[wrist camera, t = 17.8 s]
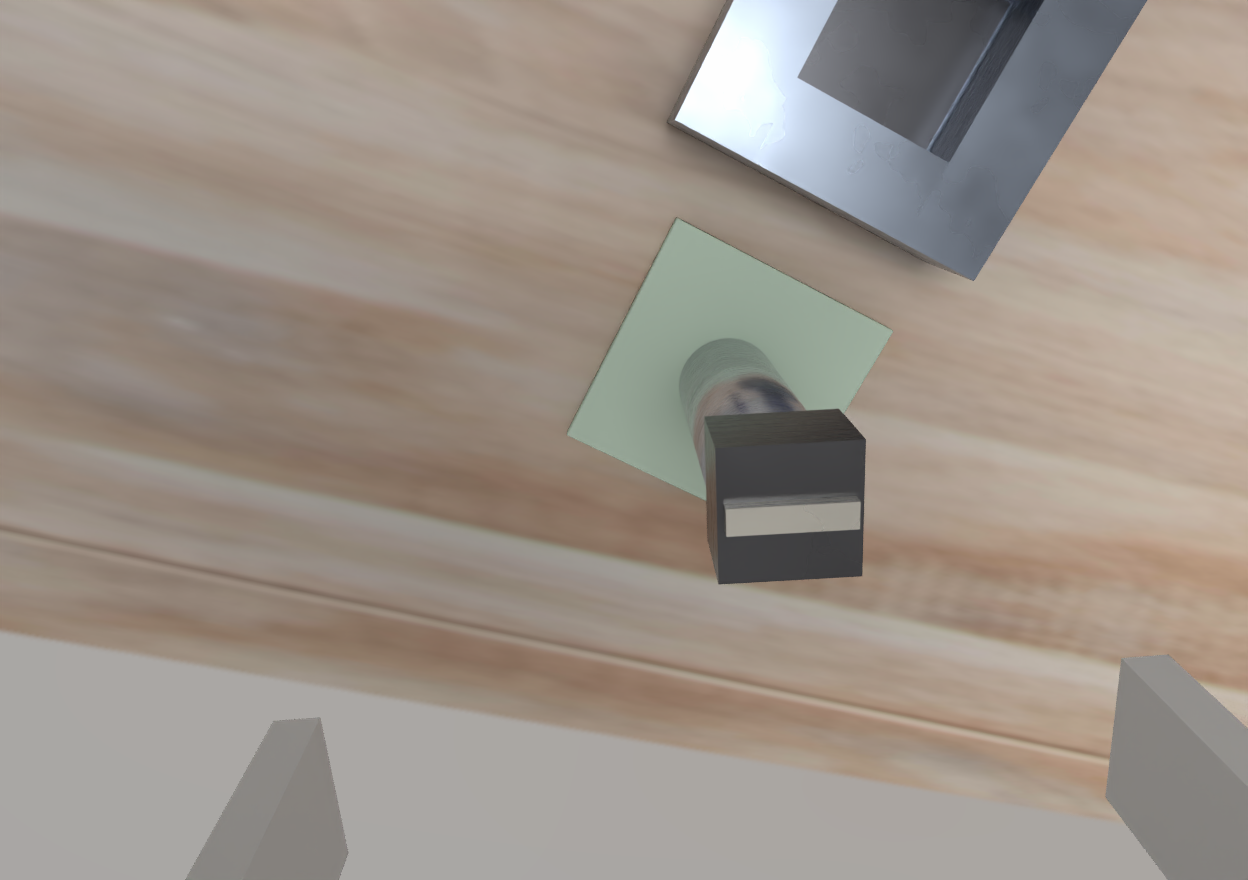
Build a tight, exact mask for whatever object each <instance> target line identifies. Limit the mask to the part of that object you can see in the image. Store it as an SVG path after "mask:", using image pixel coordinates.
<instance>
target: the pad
mask: <svg viewBox="0 0 1248 880" xmlns="http://www.w3.org/2000/svg"><path fill="white" fill-rule="evenodd" d="M892 333H893V331H892V330H891V329H890V328H888V327H886V326H884V325H882V324H880V323H878V322H876V321H874V320H872V319H871V318H869V317H867V316H865V315H863V314H861V313H859V312H857V311H855V310H853V309H851V308H849V307H848V306H846V305H844V304H842V303H840V302H838V301H836V300H834V299H832V298H830V297H828V296H826V295H825V294H823V293H821V292H819V291H817V290H815V289H813V288H811V287H809V286H807V285H805V284H803V283H802V282H800V281H798V280H796V279H794V278H792V277H790V276H788V275H786V274H784V273H782V272H780V271H779V270H777V269H775V268H773V267H771V266H769V265H767V264H765V263H763V262H761V261H759V260H757V259H756V258H754V257H752V256H750V255H748V254H746V253H744V252H742V251H740V250H738V249H736V248H735V247H733V246H731V245H729V244H727V243H725V242H723V241H721V240H719V239H717V238H715V237H713V236H712V235H710V234H708V233H706V232H704V231H702V230H700V229H698V228H696V227H694V226H692V225H690V224H689V223H687V222H685V221H683V220H681V219H679V218H677V217H676V219H675V221H674V223H673V225H672V227H671V228H670V230H669V232H668V234H667V236H666V238H665V240H664V242H663V244H662V246H661V248H660V250H659V252H658V254H657V256H656V258H655V260H654V262H653V264H652V266H651V268H650V270H649V272H648V274H647V276H646V278H645V280H644V282H643V283H642V285H641V287H640V289H639V291H638V293H637V295H636V297H635V299H634V301H633V303H632V305H631V307H630V309H629V311H628V313H627V315H626V317H625V319H624V321H623V323H622V325H621V327H620V329H619V331H618V333H617V335H616V337H615V338H614V340H613V342H612V344H611V346H610V348H609V350H608V352H607V354H606V356H605V358H604V360H603V362H602V364H601V366H600V368H599V370H598V372H597V374H596V376H595V378H594V380H593V382H592V384H591V386H590V388H589V390H588V392H587V393H586V395H585V397H584V399H583V401H582V403H581V405H580V407H579V409H578V411H577V413H576V415H575V417H574V419H573V421H572V423H571V425H570V427H569V429H568V431H567V435H568V436H570V437H572V438H574V439H576V440H578V441H580V442H582V443H585V444H587V445H589V446H591V447H593V448H595V449H597V450H599V451H601V452H604V453H606V454H608V455H610V456H612V457H614V458H616V459H618V460H620V461H623V462H625V463H627V464H629V465H631V466H633V467H635V468H637V469H640V470H642V471H644V472H646V473H648V474H650V475H652V476H654V477H656V478H659V479H661V480H663V481H665V482H667V483H669V484H671V485H673V486H675V487H678V488H680V489H682V490H684V491H686V492H688V493H690V494H692V495H695V496H697V497H699V498H701V499H703V500H705V501H706V485H705V482H704V478H703V475H702V471H701V468H700V464H699V461H698V457H697V454H696V450H695V447H694V443H693V440H692V436H691V433H690V429H689V426H688V422H687V419H686V415H685V412H684V408H683V405H682V401H681V397H680V391H679V381H680V375H681V372H682V369H683V367H684V365H685V363H686V362H687V360H688V358H689V357H690V356H691V355H692V354H693V353H694V352H695V351H696V350H697V349H698V348H700V347H701V346H703V345H705V344H706V343H708V342H711V341H713V340H717V339H723V338H735V339H741V340H744V341H747V342H749V343H751V344H753V345H755V346H756V347H758V348H759V349H760V350H761V351H762V352H763V353H764V354H765V355H766V357H767V358H768V359H769V361H770V362H771V363H772V365H773V366H774V367H775V369H776V370H777V371H778V373H779V374H780V375H781V377H782V378H783V379H784V381H785V382H786V383H787V385H788V386H789V387H790V389H791V390H792V391H793V393H794V394H795V395H796V397H797V398H798V400H799V401H800V402H801V404H802V405H803V406H804V408H805V409H806V410H824V409H840V411H841V412H842V413H843V414H844V412H845V411H846V409H847V407H848V406H849V404H850V402H851V401H852V399H853V397H854V396H855V394H856V392H857V391H858V389H859V387H860V386H861V384H862V382H863V381H864V379H865V377H866V376H867V374H868V372H869V371H870V369H871V368H872V366H873V364H874V363H875V361H876V359H877V358H878V356H879V354H880V353H881V351H882V349H883V348H884V346H885V344H886V343H887V341H888V339H889V338H890V336H891V334H892Z"/></svg>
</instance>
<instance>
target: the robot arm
mask: <svg viewBox="0 0 1248 880" xmlns="http://www.w3.org/2000/svg"><path fill="white" fill-rule="evenodd" d="M1106 798H1107V800H1108V801H1109V802H1110V804H1111V805H1112V806H1113V808H1114V809H1115V810H1116V812H1117V813H1118V814H1119V816H1120V817H1121V818H1122V820H1123V821H1124V822H1125V824H1126V825H1127V826H1128V828H1129V829H1130V830H1131V831H1132V833H1133V834H1134V835H1135V837H1136V838H1137V839H1138V841H1139V842H1140V844H1141V845H1142V846H1143V848H1144V849H1145V850H1146V852H1147V853H1148V854H1149V856H1151V858H1152V859H1153V861H1154V862H1155V863H1156V865H1157V866H1158V867H1159V869H1160V870H1161V871H1162V873H1163V874H1164V875H1165V877H1166V878H1167V879H1168V880H1248V728H1247V727H1246V726H1244V725H1243V724H1242V723H1241V722H1240V721H1239V720H1238V719H1237V718H1236V717H1235V716H1234V715H1233V714H1232V713H1230V712H1229V711H1228V710H1227V709H1226V708H1225V707H1224V706H1223V705H1222V704H1221V703H1220V702H1219V701H1218V700H1217V699H1215V698H1214V697H1213V696H1212V695H1211V694H1210V693H1209V692H1208V691H1207V690H1206V689H1205V688H1204V687H1203V686H1201V685H1200V684H1199V683H1198V682H1197V681H1196V680H1195V679H1194V678H1193V677H1192V676H1191V675H1190V674H1189V673H1187V672H1186V671H1185V670H1184V669H1183V668H1182V667H1181V666H1180V665H1179V664H1178V663H1177V662H1176V661H1175V660H1174V659H1172V658H1171V657H1170V656H1169V655H1157V656H1144V657H1130V658H1121V667H1120V675H1119V684H1118V693H1117V701H1116V710H1115V719H1114V727H1113V736H1112V745H1111V753H1110V762H1109V771H1108V779H1107V788H1106ZM347 855H348V849H347V844H346V840H345V835H344V830H343V825H342V820H341V815H340V811H339V806H338V801H337V796H336V791H335V786H334V782H333V777H332V772H331V767H330V762H329V757H328V753H327V748H326V743H325V738H324V733H323V729H322V724H321V719H320V718H308V719H294V720H282V721H273V723H272V725H271V727H270V728H269V730H268V732H267V734H266V736H265V738H264V739H263V741H262V743H261V745H260V747H259V748H258V750H257V752H256V754H255V755H254V757H253V759H252V761H251V763H250V764H249V766H248V768H247V770H246V772H245V773H244V775H243V777H242V779H241V781H240V782H239V784H238V786H237V788H236V790H235V791H234V793H233V795H232V797H231V799H230V801H229V802H228V804H227V806H226V808H225V810H224V811H223V813H222V815H221V817H220V818H219V820H218V822H217V824H216V826H215V827H214V829H213V831H212V833H211V835H210V837H209V838H208V840H207V842H206V844H205V846H204V847H203V849H202V851H201V853H200V854H199V856H198V858H197V860H196V862H195V863H194V865H193V867H192V869H191V871H190V872H189V874H188V876H187V878H186V880H339V878H340V875H341V872H342V869H343V867H344V864H345V861H346V858H347Z"/></svg>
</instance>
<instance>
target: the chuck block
mask: <svg viewBox="0 0 1248 880" xmlns="http://www.w3.org/2000/svg"><path fill="white" fill-rule="evenodd" d="M1146 1H1147V0H727V1H726V3H725V5H724V7H723V9H722V11H721V13H720V15H719V17H718V19H717V21H716V23H715V25H714V27H713V29H712V31H711V33H710V35H709V37H708V39H707V41H706V43H705V45H704V47H703V49H702V52H701V54H700V56H699V58H698V60H697V62H696V64H695V66H694V68H693V70H692V72H691V74H690V76H689V78H688V80H687V82H686V84H685V86H684V88H683V90H682V92H681V94H680V96H679V98H678V100H677V102H676V104H675V106H674V109H673V111H672V113H671V115H670V117H669V119H668V121H667V123H669V124H671V125H673V126H675V127H676V128H678V129H680V130H682V131H684V132H686V133H688V134H689V135H691V136H693V137H695V138H697V139H699V140H701V141H702V142H704V143H706V144H708V145H710V146H712V147H714V148H715V149H717V150H719V151H721V152H723V153H725V154H727V155H728V156H730V157H732V158H734V159H736V160H738V161H740V162H741V163H743V164H745V165H747V166H749V167H751V168H753V169H754V170H756V171H758V172H760V173H762V174H764V175H766V176H767V177H769V178H771V179H773V180H775V181H777V182H779V183H780V184H782V185H784V186H786V187H788V188H790V189H792V190H793V191H795V192H797V193H799V194H801V195H803V196H805V197H806V198H808V199H810V200H812V201H814V202H816V203H818V204H819V205H821V206H823V207H825V208H827V209H829V210H831V211H832V212H834V213H836V214H838V215H840V216H842V217H844V218H845V219H847V220H849V221H851V222H853V223H855V224H857V225H858V226H860V227H862V228H864V229H866V230H868V231H870V232H871V233H873V234H875V235H877V236H879V237H881V238H883V239H884V240H886V241H888V242H890V243H892V244H894V245H896V246H897V247H899V248H901V249H903V250H905V251H907V252H909V253H910V254H912V255H914V256H916V257H918V258H920V259H922V260H923V261H925V262H927V263H929V264H932V265H934V266H937V267H939V268H942V269H944V270H947V271H950V272H952V273H955V274H957V275H960V276H962V277H965V278H967V279H970V280H972V281H974V280H975V278H976V277H977V275H978V274H979V272H980V270H981V269H982V267H983V265H984V264H985V262H986V261H987V259H988V257H989V256H990V254H991V252H992V251H993V249H994V248H995V246H996V244H997V243H998V241H999V240H1000V238H1001V236H1002V235H1003V233H1004V231H1005V230H1006V228H1007V227H1008V225H1009V223H1010V222H1011V220H1012V218H1013V217H1014V215H1015V214H1016V212H1017V210H1018V209H1019V207H1020V205H1021V204H1022V202H1023V201H1024V199H1025V197H1026V196H1027V194H1028V193H1029V191H1030V189H1031V188H1032V186H1033V184H1034V183H1035V181H1036V180H1037V178H1038V176H1039V175H1040V173H1041V171H1042V170H1043V168H1044V167H1045V165H1046V163H1047V162H1048V160H1049V158H1050V157H1051V155H1052V154H1053V152H1054V150H1055V149H1056V147H1057V146H1058V144H1059V142H1060V141H1061V139H1062V137H1063V136H1064V134H1065V133H1066V131H1067V129H1068V128H1069V126H1070V124H1071V123H1072V121H1073V120H1074V118H1075V116H1076V115H1077V113H1078V111H1079V110H1080V108H1081V107H1082V105H1083V103H1084V102H1085V100H1086V99H1087V97H1088V95H1089V94H1090V92H1091V90H1092V89H1093V87H1094V86H1095V84H1096V82H1097V81H1098V79H1099V77H1100V76H1101V74H1102V73H1103V71H1104V69H1105V68H1106V66H1107V64H1108V63H1109V61H1110V60H1111V58H1112V56H1113V55H1114V53H1115V52H1116V50H1117V48H1118V47H1119V45H1120V43H1121V42H1122V40H1123V39H1124V37H1125V35H1126V34H1127V32H1128V30H1129V29H1130V27H1131V26H1132V24H1133V22H1134V21H1135V19H1136V17H1137V16H1138V14H1139V13H1140V11H1141V9H1142V8H1143V6H1144V5H1145V3H1146Z"/></svg>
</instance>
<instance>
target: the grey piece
mask: <svg viewBox="0 0 1248 880" xmlns="http://www.w3.org/2000/svg"><path fill="white" fill-rule="evenodd" d="M679 391H680V397H681V401H682V405H683V408H684V412H685V415H686V419H687V422H688V426H689V429H690V433H691V436H692V440H693V443H694V447H695V450H696V454H697V457H698V461H699V464H700V468H701V471H702V475H703V478H704V482H705V485H706V504H707V538H708V544H709V548H710V552H711V556H712V560H713V564H714V568H715V572H716V576H717V580H718V584H733V583H751V582H768V581H786V580H804V579H821V578H839V577H856V576H862V562H863V524H864V487H865V449H866V439H865V438H864V437H863V436H862V435H861V433H860V432H859V431H858V430H857V429H856V428H855V427H854V425H853V424H852V423H851V422H850V421H849V420H848V419H847V417H846V416H845V415H844V414H843V413H842V412H841V411H840V409H824V410H806V409H805V408H804V406H803V405H802V404H801V402H800V401H799V400H798V398H797V397H796V395H795V394H794V393H793V391H792V390H791V389H790V387H789V386H788V385H787V383H786V382H785V381H784V379H783V378H782V377H781V375H780V374H779V373H778V371H777V370H776V369H775V367H774V366H773V365H772V363H771V362H770V361H769V359H768V358H767V357H766V355H765V354H764V353H763V352H762V351H761V350H760V349H759V348H758V347H756V346H755V345H753V344H751V343H749V342H747V341H744V340H741V339H735V338H723V339H717V340H713V341H711V342H708V343H706V344H705V345H703V346H701V347H700V348H698V349H697V350H696V351H695V352H694V353H693V354H692V355H691V356H690V357H689V358H688V360H687V362H686V363H685V365H684V367H683V369H682V372H681V375H680V381H679Z"/></svg>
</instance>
